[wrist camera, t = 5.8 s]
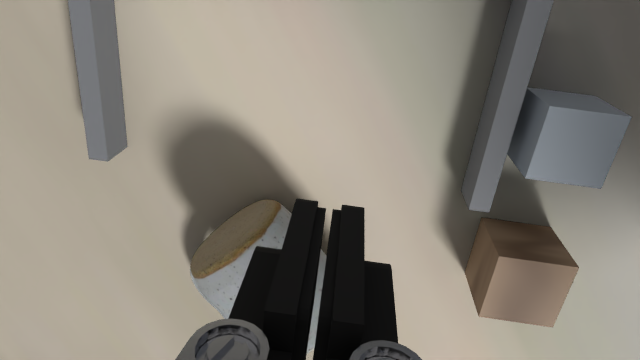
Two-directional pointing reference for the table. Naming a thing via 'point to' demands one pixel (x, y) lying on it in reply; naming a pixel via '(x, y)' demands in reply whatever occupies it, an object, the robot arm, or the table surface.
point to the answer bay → (490, 141)
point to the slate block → (566, 137)
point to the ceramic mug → (244, 256)
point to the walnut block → (519, 272)
